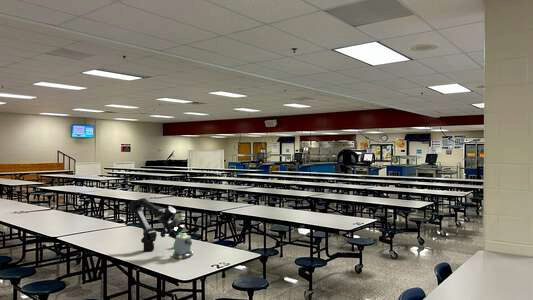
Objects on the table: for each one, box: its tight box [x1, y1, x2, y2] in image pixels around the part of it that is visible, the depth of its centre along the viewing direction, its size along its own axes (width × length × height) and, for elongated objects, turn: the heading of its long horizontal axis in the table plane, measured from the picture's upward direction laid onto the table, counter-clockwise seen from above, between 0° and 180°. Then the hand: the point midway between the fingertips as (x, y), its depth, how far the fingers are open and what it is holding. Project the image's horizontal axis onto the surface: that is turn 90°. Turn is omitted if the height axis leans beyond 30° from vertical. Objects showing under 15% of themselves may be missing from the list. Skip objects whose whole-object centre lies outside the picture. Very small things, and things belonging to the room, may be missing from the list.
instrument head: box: [173, 232, 193, 255], centre depth 245 cm, size 10×10×13 cm
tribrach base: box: [172, 250, 194, 261], centre depth 246 cm, size 13×13×4 cm
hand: (179, 240), depth 247 cm, fingers closed, pressing on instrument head
